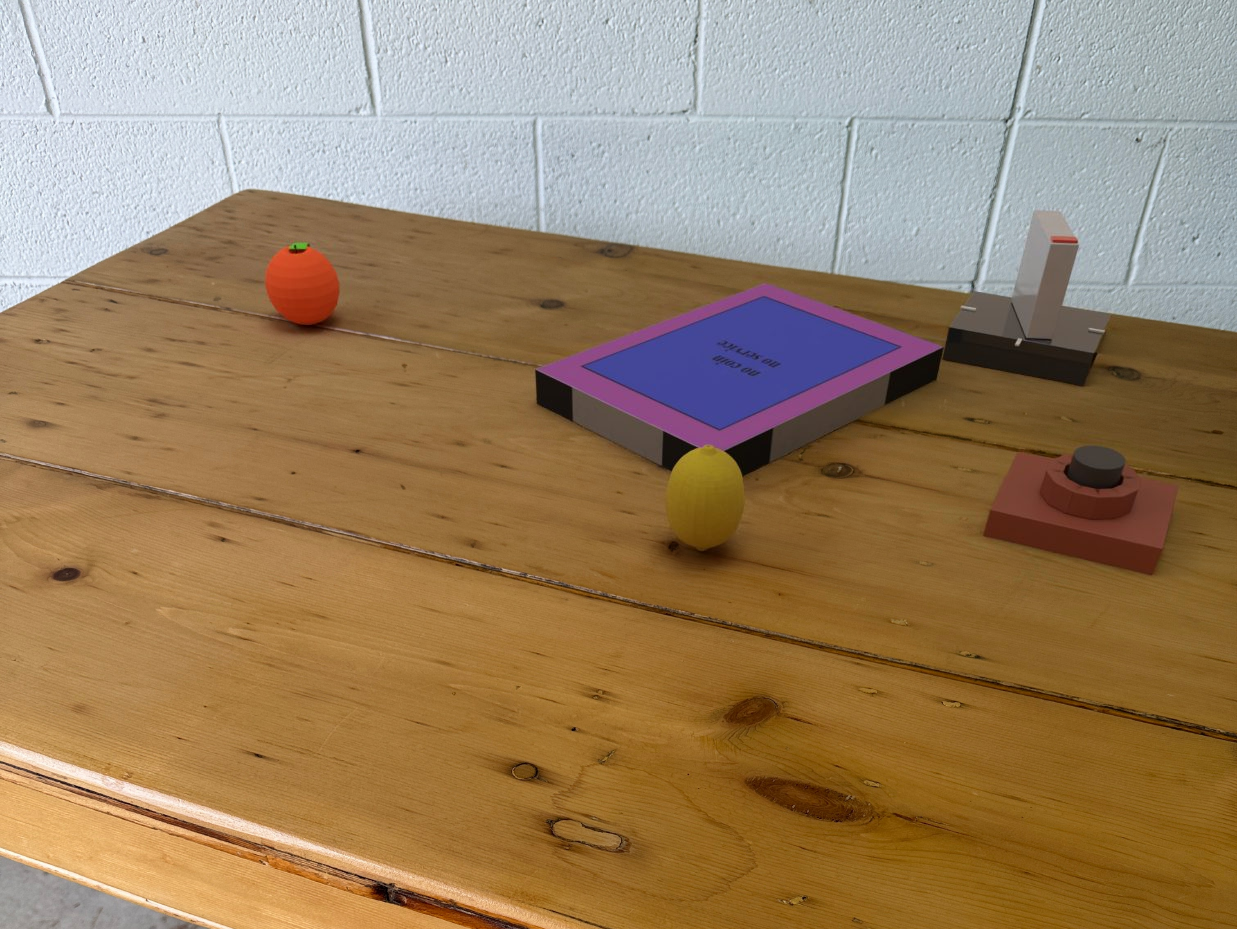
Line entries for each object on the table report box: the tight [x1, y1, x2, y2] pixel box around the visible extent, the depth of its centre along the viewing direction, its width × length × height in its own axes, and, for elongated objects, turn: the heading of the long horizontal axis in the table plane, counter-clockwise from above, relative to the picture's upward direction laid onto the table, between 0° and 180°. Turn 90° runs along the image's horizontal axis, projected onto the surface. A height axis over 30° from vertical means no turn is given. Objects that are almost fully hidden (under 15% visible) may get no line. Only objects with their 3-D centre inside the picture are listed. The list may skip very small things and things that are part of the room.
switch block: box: [982, 451, 1180, 576], centre depth 82 cm, size 12×10×4 cm
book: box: [534, 282, 945, 477], centre depth 98 cm, size 21×3×30 cm
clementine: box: [264, 242, 341, 326], centre depth 107 cm, size 8×7×7 cm
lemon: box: [664, 445, 746, 552], centre depth 78 cm, size 6×6×8 cm
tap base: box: [941, 290, 1112, 387], centre depth 104 cm, size 13×13×3 cm
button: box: [1067, 445, 1127, 489], centre depth 80 cm, size 4×4×2 cm
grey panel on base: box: [1011, 209, 1080, 339], centre depth 100 cm, size 9×2×8 cm, turn 174°
